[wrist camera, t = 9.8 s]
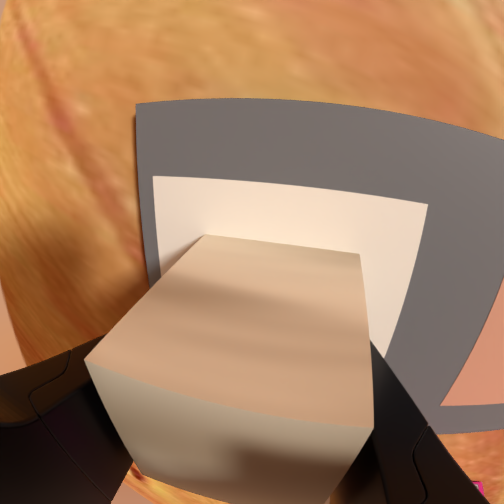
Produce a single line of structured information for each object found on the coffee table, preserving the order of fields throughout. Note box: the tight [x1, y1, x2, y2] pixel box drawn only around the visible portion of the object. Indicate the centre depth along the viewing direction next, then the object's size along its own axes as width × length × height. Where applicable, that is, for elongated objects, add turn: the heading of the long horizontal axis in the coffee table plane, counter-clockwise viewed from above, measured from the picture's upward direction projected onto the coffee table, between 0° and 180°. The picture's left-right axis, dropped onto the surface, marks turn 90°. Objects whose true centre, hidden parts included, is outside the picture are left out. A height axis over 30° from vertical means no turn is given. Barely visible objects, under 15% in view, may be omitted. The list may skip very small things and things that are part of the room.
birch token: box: [84, 234, 374, 504], centre depth 7 cm, size 4×4×5 cm
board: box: [136, 98, 504, 434], centre depth 8 cm, size 11×18×1 cm, turn 88°
